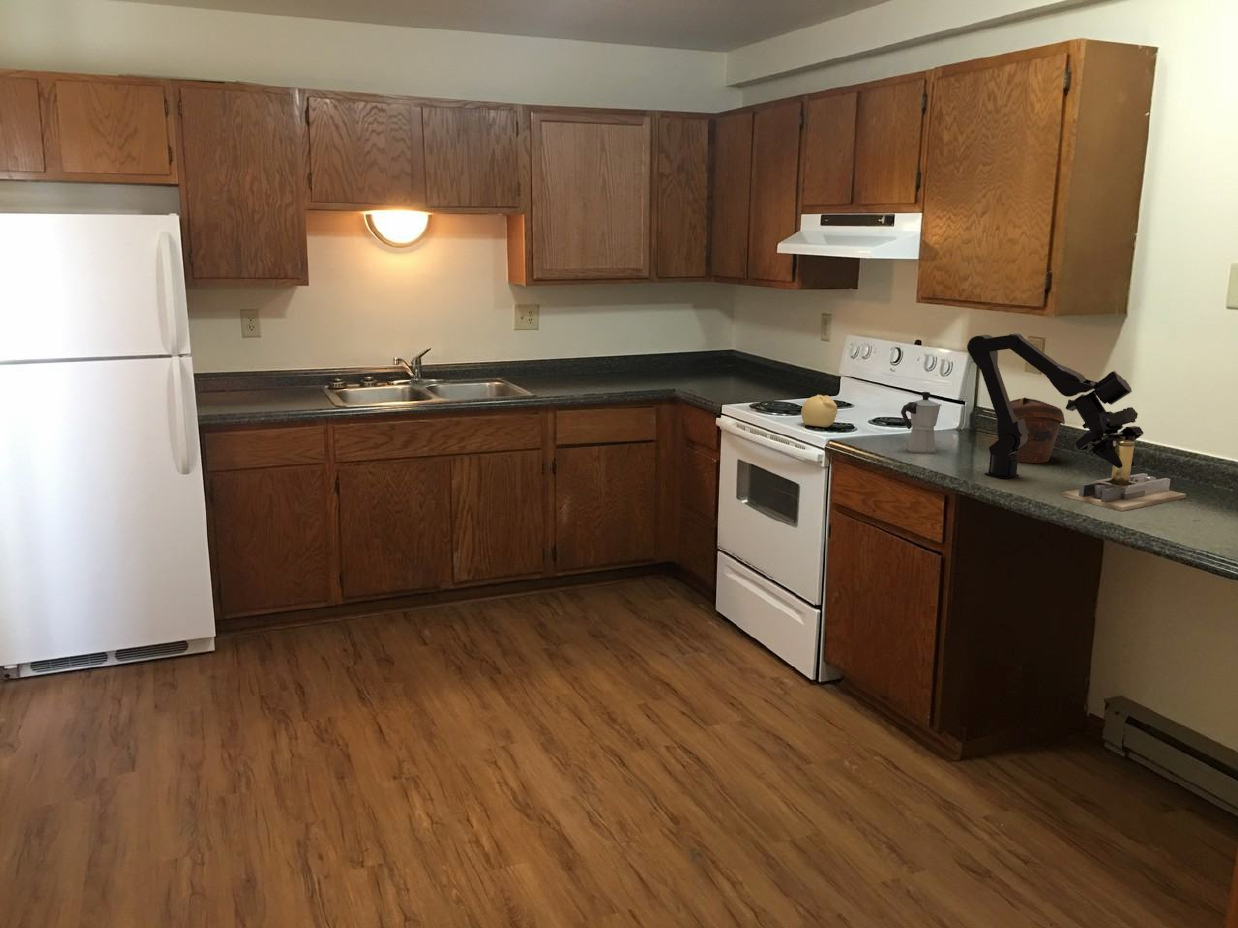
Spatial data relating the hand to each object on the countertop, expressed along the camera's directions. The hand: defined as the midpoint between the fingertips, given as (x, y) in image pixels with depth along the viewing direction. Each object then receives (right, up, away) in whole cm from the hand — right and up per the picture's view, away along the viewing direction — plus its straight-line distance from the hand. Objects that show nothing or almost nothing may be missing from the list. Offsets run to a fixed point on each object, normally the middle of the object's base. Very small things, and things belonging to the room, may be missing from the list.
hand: (1126, 466), depth 248 cm
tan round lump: (-58, +13, +94) cm, 111 cm away
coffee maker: (-35, +4, +56) cm, 66 cm away
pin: (-1, -6, +3) cm, 7 cm away
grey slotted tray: (+1, -7, +4) cm, 8 cm away
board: (+1, -8, +4) cm, 9 cm away
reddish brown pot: (-6, +2, +48) cm, 49 cm away
